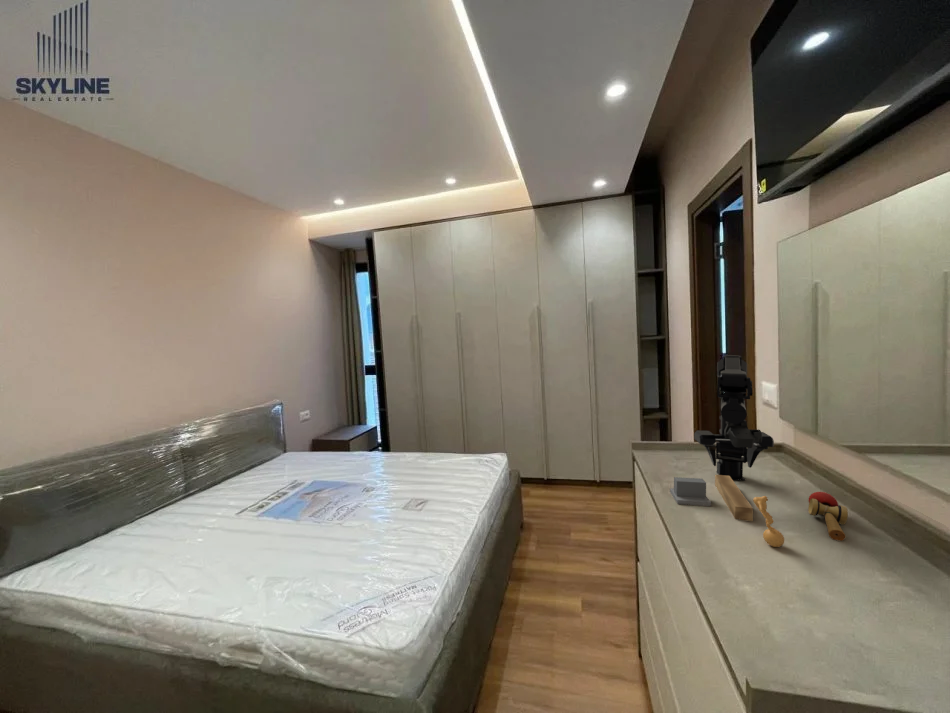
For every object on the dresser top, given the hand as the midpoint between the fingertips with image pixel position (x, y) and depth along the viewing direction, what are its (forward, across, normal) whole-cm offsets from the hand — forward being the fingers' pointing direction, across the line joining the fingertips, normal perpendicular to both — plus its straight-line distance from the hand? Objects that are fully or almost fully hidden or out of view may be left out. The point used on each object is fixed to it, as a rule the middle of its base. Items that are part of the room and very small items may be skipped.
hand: (731, 466), depth 109 cm
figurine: (+11, -1, -22) cm, 25 cm away
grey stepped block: (+11, -11, 0) cm, 16 cm away
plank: (+11, 0, 0) cm, 11 cm away
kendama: (+11, +19, -9) cm, 24 cm away
